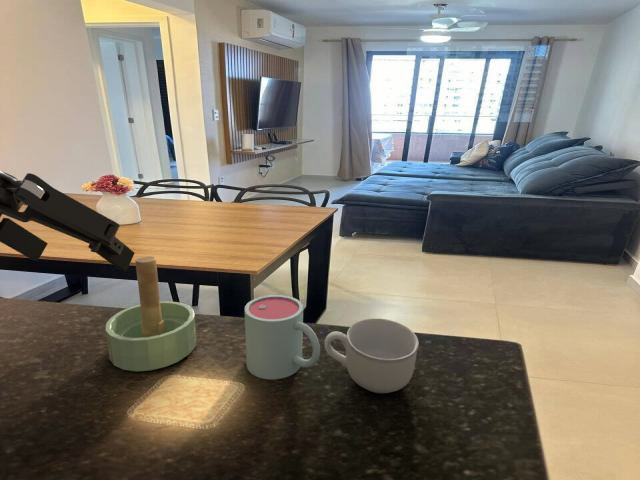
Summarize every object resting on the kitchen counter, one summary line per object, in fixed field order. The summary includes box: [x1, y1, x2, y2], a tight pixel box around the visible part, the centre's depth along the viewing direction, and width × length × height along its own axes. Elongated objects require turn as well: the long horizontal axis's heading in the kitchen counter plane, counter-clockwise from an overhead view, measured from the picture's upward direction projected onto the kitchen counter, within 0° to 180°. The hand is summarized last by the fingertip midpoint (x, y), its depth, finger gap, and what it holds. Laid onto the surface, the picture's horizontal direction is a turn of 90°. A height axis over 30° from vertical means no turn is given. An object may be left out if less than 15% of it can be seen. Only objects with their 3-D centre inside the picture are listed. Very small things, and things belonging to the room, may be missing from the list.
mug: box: [244, 294, 321, 380], centre depth 61 cm, size 14×9×10 cm
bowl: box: [105, 300, 197, 372], centre depth 65 cm, size 14×14×6 cm
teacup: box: [324, 317, 420, 394], centre depth 59 cm, size 14×11×8 cm
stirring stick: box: [134, 255, 165, 337], centre depth 63 cm, size 4×3×16 cm
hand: (83, 256), depth 51 cm, fingers open, 13 cm apart
